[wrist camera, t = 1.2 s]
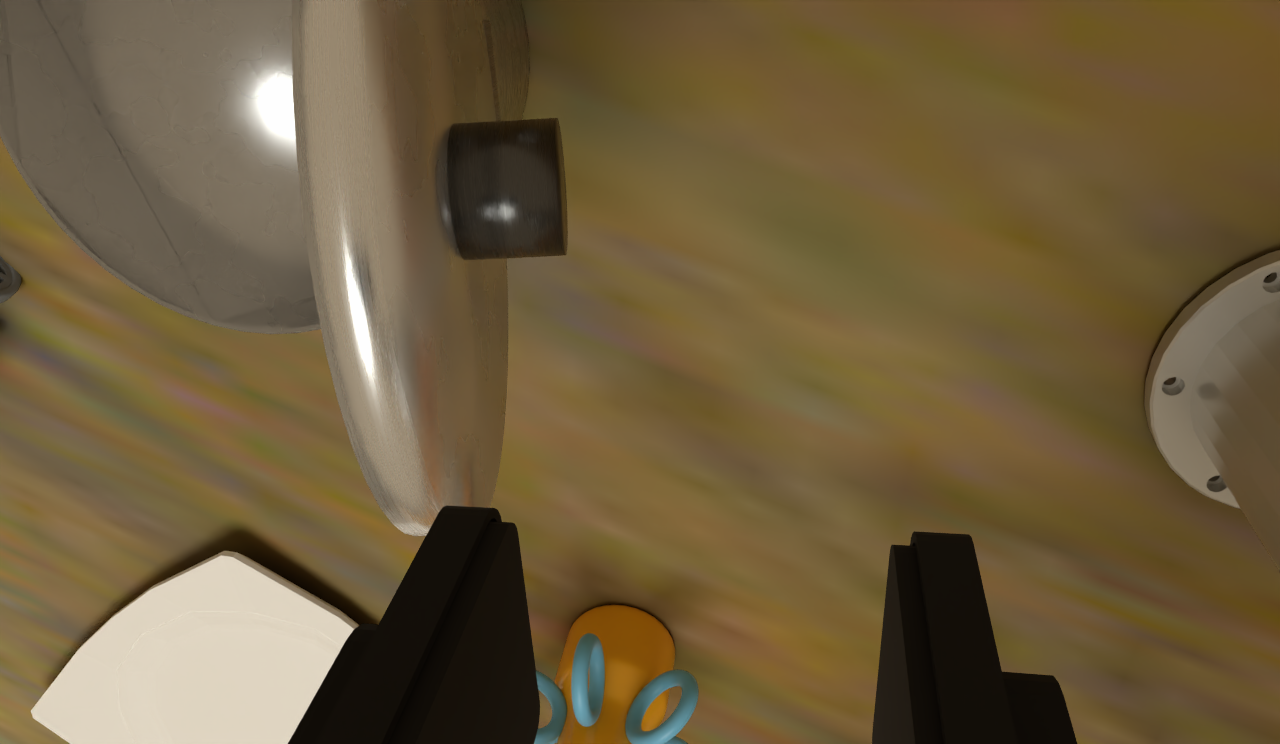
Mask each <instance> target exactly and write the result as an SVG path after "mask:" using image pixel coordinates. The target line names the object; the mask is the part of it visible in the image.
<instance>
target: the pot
mask: <svg viewBox="0 0 1280 744" xmlns="http://www.w3.org/2000/svg"><path fill="white" fill-rule="evenodd" d="M480 5H481V11H482V18H483V20H489V21H490V25H491V34H492V43H493V52H494V61H495V70H496V79H497V88H498V97H499V106H500V115H501V121H510V120H522V116H523V112H524V108H525V103H526V99H527V93H528V82H529V71H530V66H529V42H528V35H527V29H526V22H525V16H524V12H523V9H522V5H521V2H520V0H480ZM291 29H292V0H0V136H1V138H2V141H3V143H4V145H5V147H6V148H7V150H8V152H9V154H10V156H11V158H12V160H13V161H14V163H15V165H16V167H17V169H18V171H19V172H20V174H21V175H22V177H23V178H24V180H25V181H26V183H27V184H28V186H29V187H30V189H31V190H32V192H33V193H34V195H35V196H36V198H37V199H38V201H39V202H40V203H41V204H42V206H43V207H44V208H45V209H46V211H47V212H48V213H49V214H50V215H51V217H52V218H53V219H54V220H55V222H56V223H57V224H58V225H59V226H60V227H61V228H62V229H63V231H64V232H65V233H66V234H67V235H68V236H69V237H70V238H71V239H72V240H73V241H74V242H75V243H76V244H77V245H78V246H79V247H80V248H81V249H82V250H83V251H84V252H86V253H87V254H88V255H89V256H90V257H91V258H93V259H94V260H95V261H96V262H97V263H98V264H100V265H101V266H102V267H103V268H104V269H105V270H107V271H108V272H109V273H111V274H112V275H114V276H115V277H117V278H118V279H119V280H121V281H122V282H124V283H125V284H126V285H128V286H129V287H131V288H132V289H134V290H136V291H137V292H139V293H141V294H143V295H144V296H146V297H148V298H150V299H151V300H153V301H155V302H156V303H158V304H160V305H162V306H165V307H167V308H169V309H171V310H174V311H176V312H178V313H180V314H183V315H185V316H187V317H190V318H193V319H196V320H199V321H202V322H205V323H208V324H212V325H215V326H219V327H224V328H229V329H234V330H238V331H244V332H255V333H266V334H283V333H301V332H306V331H312V330H318V329H321V325H320V320H319V315H318V310H317V305H316V300H315V295H314V289H313V282H312V275H311V269H310V262H309V256H308V249H307V242H306V236H305V229H304V220H303V211H302V201H301V192H300V183H299V173H298V164H297V151H296V135H295V120H294V105H293V80H292V33H291Z"/></svg>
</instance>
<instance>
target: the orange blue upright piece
mask: <svg viewBox="0 0 1280 744" xmlns="http://www.w3.org/2000/svg"><path fill="white" fill-rule="evenodd" d="M674 660H675V647H674V643H673V640H672V638H671V636H670V634H669V632H668V630H667V629H666V628H665V627H664V626H663V624H662V623H661V622H659V621H658V620H657V619H656V618H655V617H653V616H651V615H649V614H648V613H646V612H644V611H641V610H639V609H637V608H633V607H629V606H624V605H604V606H600V607H596V608H593V609H591V610H589V611H587V612H585V613H584V614H583V615H581V616H580V617H579V618H578V619H577V620H576V621H575V622H574V623H573V625H572V627H571V629H570V631H569V634H568V637H567V640H566V644H565V647H564V650H563V654H562V657H561V661H560V664H559V667H558V671H557V674H556V677H555V681H554V682H553V681H552V680H551V679H550V678H549V677H547V676H546V675H544V674H543V673H541V672H539V671H537V670H536V676H537V684H538V690H540V691H541V692H542V693H543V694H544V695H545V696H546V697H547V699H548V701H549V702H550V705H551V708H552V719H551V721H550V723H549V724H548V725H547V726H545V727H543V728H540V729H538V730H537V734H536V738H535V742H534V744H554V743H557V744H688V743H687V742H685V741H684V740H682V739H680V738H678V737H676V736H675V735H676V734H677V733H678V732H679V731H680V730H681V729H682V728H683V727H684V726H685V724H686V723H687V722H688V720H689V719H690V717H691V715H692V713H693V711H694V709H695V707H696V704H697V700H698V685H697V682H696V680H695V678H694V677H693V675H692V674H690V673H689V672H687V671H684V670H673V667H674ZM674 686H680V687H681V688H682V696H681V699H680V702H679V704H678V706H677V708H676V709H675V711H674V712H673V713H672V715H671V716H670V717H669V718H668V719H667V720H666V721H665V722H664V723H663V724H661V722H662V720H663V718H664V716H665V713H666V709H667V704H668V697H669V691H670V688H671V687H674ZM660 724H661V725H660ZM659 725H660V726H659ZM658 726H659V727H658Z"/></svg>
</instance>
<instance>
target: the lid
mask: <svg viewBox="0 0 1280 744" xmlns="http://www.w3.org/2000/svg"><path fill="white" fill-rule="evenodd" d="M291 33H292V80H293V105H294V120H295V135H296V151H297V164H298V173H299V183H300V192H301V201H302V211H303V220H304V229H305V236H306V242H307V249H308V256H309V262H310V269H311V275H312V282H313V289H314V295H315V300H316V305H317V310H318V315H319V320H320V325H321V330H322V335H323V341H324V346H325V351H326V355H327V359H328V363H329V367H330V371H331V375H332V379H333V383H334V387H335V391H336V395H337V399H338V403H339V406H340V409H341V413H342V416H343V419H344V422H345V425H346V429H347V432H348V435H349V438H350V441H351V445H352V447H353V450H354V452H355V455H356V457H357V460H358V462H359V465H360V467H361V470H362V472H363V475H364V477H365V480H366V482H367V484H368V486H369V488H370V490H371V492H372V493H373V495H374V497H375V499H376V501H377V503H378V505H379V507H380V508H381V509H382V511H383V512H384V513H385V515H386V516H387V517H388V519H389V520H390V521H391V523H392V524H393V525H394V526H396V527H397V528H398V529H400V530H401V531H402V532H403V533H405V534H409V535H413V536H426V535H427V533H428V532H429V530H430V528H431V526H432V524H433V522H434V520H435V518H436V517H437V515H438V513H439V512H440V510H441V509H442V507H445V506H447V505H448V506H466V507H483V508H490V505H491V501H492V498H493V495H494V491H495V486H496V482H497V477H498V472H499V465H500V459H501V452H502V444H503V434H504V424H505V410H506V396H507V372H508V280H507V258H522V257H541V256H561V255H566V253H567V238H568V229H567V199H566V182H565V169H564V157H563V148H562V139H561V132H560V126H559V122H558V119H557V118H549V119H530V120H510V121H501V115H500V106H499V97H498V88H497V79H496V70H495V61H494V52H493V43H492V34H491V25H490V21H489V20H483V18H482V11H481V5H480V0H292V29H291Z"/></svg>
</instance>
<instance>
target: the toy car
mask: <svg viewBox="0 0 1280 744" xmlns="http://www.w3.org/2000/svg"><path fill="white" fill-rule="evenodd" d="M20 285H21V276H20V274H19V273H18V272H17V271H16V270H15V269H14V268H12V267H11V266H10V265H9V264H7V263H6V262H5V261H4V260H3V259H2V257H1V256H0V303H2V302H4V301H6V300H8V299H9V298H10V297H11V296H12V295H14V294H15V293H16V292H17V291H18V289H19V287H20Z"/></svg>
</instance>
